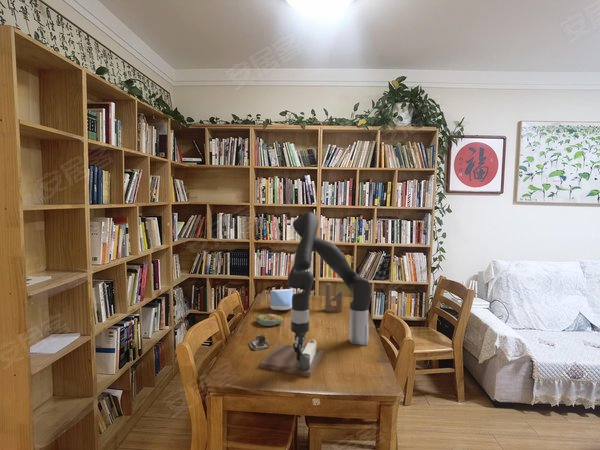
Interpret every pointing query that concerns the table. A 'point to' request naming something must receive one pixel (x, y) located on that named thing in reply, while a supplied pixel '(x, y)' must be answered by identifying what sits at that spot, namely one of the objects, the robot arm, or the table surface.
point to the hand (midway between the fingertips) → (299, 360)
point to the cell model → (269, 319)
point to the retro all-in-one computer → (281, 299)
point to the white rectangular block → (308, 355)
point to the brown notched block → (336, 298)
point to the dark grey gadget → (259, 343)
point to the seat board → (288, 360)
